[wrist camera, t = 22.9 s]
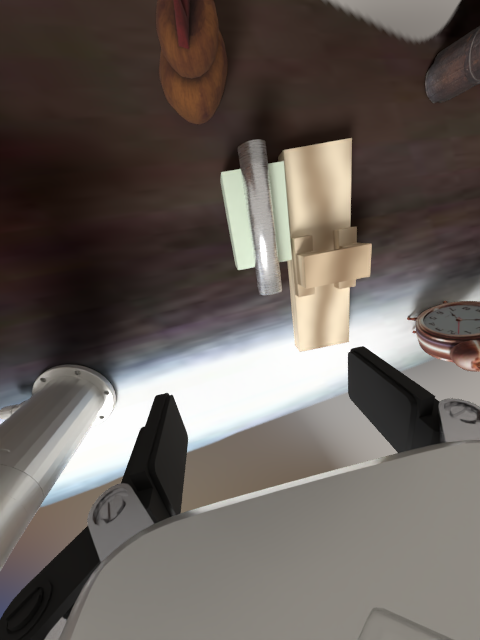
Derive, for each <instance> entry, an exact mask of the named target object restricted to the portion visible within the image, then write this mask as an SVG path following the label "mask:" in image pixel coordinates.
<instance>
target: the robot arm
mask: <svg viewBox="0 0 480 640" xmlns="http://www.w3.org/2000/svg"><path fill="white" fill-rule="evenodd" d="M348 394H349V397H350V399H351V400H352V401H353V402H354V403H355V405H356V406H357V407H358V408H359V409H360V410H361V411H362V412H363V414H364V415H365V416H366V417H367V418H368V419H369V420H370V422H371V423H372V424H373V425H374V426H375V427H376V428H377V430H378V431H379V432H380V433H381V434H382V435H383V436H384V437H385V439H386V440H387V441H388V442H389V443H390V444H391V445H392V446H393V448H394V449H395V450H396V451H397V452H398V453H397V454H393V455H389V456H386V457H382V458H378V459H375V460H371V461H367V462H363V463H360V464H355V465H352V466H348V467H344V468H340V469H337V470H333V471H330V472H326V473H322V474H318V475H314V476H311V477H307V478H303V479H300V480H296V481H292V482H289V483H285V484H281V485H278V486H274V487H270V488H267V489H263V490H260V491H256V492H252V493H249V494H245V495H242V496H238V497H235V498H231V499H228V500H224V501H220V502H217V503H214V504H210V505H207V506H203V507H200V508H197V509H193V510H191V511H187V512H184V513H181V514H180V512H181V503H182V493H183V484H184V473H185V464H186V455H187V445H188V436H187V432H186V429H185V427H184V424H183V421H182V419H181V416H180V413H179V411H178V408H177V405H176V402H175V400H174V397H173V395H169V394H168V393H165V394H161V395H157V396H156V397H155V399H154V402H153V405H152V408H151V411H150V414H149V417H148V420H147V423H146V426H145V427H142V428H141V430H140V432H139V434H138V437H137V440H136V443H135V446H134V448H133V451H132V454H131V457H130V460H129V462H128V465H127V468H126V471H125V473H124V476H123V479H122V482H121V484H117V485H115V486H113V487H111V488H109V489H108V490H106V491H105V492H104V493H103V494H102V495H101V496H100V497H99V498H98V499H97V500H96V502H95V503H94V504H93V506H92V508H91V510H90V512H89V515H88V519H87V520H88V526H87V527H86V528H85V529H84V530H83V531H82V532H81V533H80V534H79V535H78V536H77V537H76V538H75V539H74V540H73V541H72V542H71V543H70V544H69V545H68V546H67V547H65V549H64V550H62V551H61V553H59V554H58V555H57V556H56V557H55V558H54V559H53V560H52V561H51V562H50V563H49V564H48V565H47V566H46V567H45V568H44V569H43V570H42V571H41V572H40V573H39V574H38V575H37V576H36V577H35V578H34V579H33V580H32V581H31V582H30V583H28V584H27V585H26V586H25V588H23V589H22V590H21V592H20V593H19V594H18V595H17V596H16V597H15V598H14V599H13V601H12V602H11V603H10V605H9V606H8V608H7V609H6V611H5V612H4V614H3V616H2V617H1V619H0V640H480V407H479V406H477V405H476V404H473V403H471V402H468V401H464V400H460V399H453V398H452V399H444V400H442V401H440V402H439V401H438V400H436V399H435V396H434V395H433V394H431V393H430V392H428V391H427V390H425V389H424V388H423V387H421V386H420V385H418V384H417V383H415V382H414V381H412V380H411V379H410V378H408V377H407V376H405V375H404V374H402V373H401V372H400V371H398V370H397V369H395V368H394V367H392V366H391V365H390V364H388V363H387V362H385V361H384V360H382V359H381V358H379V357H378V356H377V355H375V354H374V353H372V352H371V351H369V350H368V349H367V348H365V347H363V346H362V347H357V348H353V349H351V351H350V352H349V353H348ZM115 404H116V395H115V391H114V389H113V386H112V385H111V384H110V382H109V381H108V380H107V379H106V378H105V377H104V376H103V375H101V374H100V373H98V372H96V371H94V370H92V369H90V368H87V367H84V366H79V365H69V364H67V365H59V366H56V367H52V368H50V369H49V370H47V371H45V372H44V373H43V374H41V375H40V376H39V377H38V378H37V379H36V381H35V383H34V385H33V389H32V397H31V398H30V399H28V400H27V401H24V402H22V403H21V404H19V405H18V404H17V405H12V406H7V407H3V408H2V409H1V410H0V418H1V419H6V420H5V421H4V422H3V423H2V424H1V425H0V571H1V569H2V567H3V565H4V564H5V562H6V560H7V559H8V557H9V555H10V553H11V552H12V550H13V548H14V547H15V545H16V543H17V542H18V540H19V539H20V537H21V535H22V534H23V532H24V531H25V529H26V527H27V526H28V524H29V522H30V521H31V520H32V518H33V516H34V515H35V513H36V512H37V510H38V509H39V507H40V506H41V504H42V502H43V501H44V499H45V498H46V496H47V495H48V493H49V492H50V490H51V488H52V487H53V485H54V484H55V482H56V481H57V479H58V478H59V476H60V474H61V473H62V471H63V470H64V468H65V467H66V465H67V464H68V462H69V460H70V459H71V457H72V456H73V454H74V453H75V451H76V450H77V448H78V447H79V445H80V443H81V442H82V440H83V439H84V437H85V436H86V434H87V433H88V431H89V429H90V428H91V426H93V425H96V424H98V423H100V422H102V421H104V420H105V419H106V418H107V417H108V416H109V415H110V414H111V412H112V411H113V409H114V406H115Z"/></svg>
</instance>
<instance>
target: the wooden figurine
mask: <svg viewBox="0 0 480 640" xmlns="http://www.w3.org/2000/svg"><path fill="white" fill-rule="evenodd" d="M156 29H157V34H158V38H159V42H160V45H161V55H160V65H159V77H160V81H161V84H162V87H163V90H164V94H165V96H166V99H167V101H168V102H169V103H170V105H171V106H172V107H173V108H174V109H175V110H176V111H177V112H178V114H179V115H181V116H182V117H183V118H184V119H186V120H187V121H188V122H190V123H194V124H202V123H205V122H207V121H208V120H209V119H210V118H211V117H212V116H213V115H214V113H215V111H216V109H217V107H218V105H219V103H220V100H221V98H222V95H223V92H224V87H225V82H226V77H227V69H228V63H227V55H226V50H225V45H224V40H223V37H222V35H221V33H220V31H219V27H218V17H217V12H216V7H215V3H214V0H157V6H156Z"/></svg>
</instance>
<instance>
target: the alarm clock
mask: <svg viewBox="0 0 480 640" xmlns="http://www.w3.org/2000/svg"><path fill="white" fill-rule="evenodd" d="M443 303H444V304H441V305H437V306H434V307H432V308H429V309H427V310H425V311H424V312H422V313H421V314H420V315H419V316H418V317H417V318H410V317H408V318H407V319H408V320H414V321H416V331H413V333H416V334H417V338H418V341H419V344H420V346H421V348H422V349H423V350H424V351H425V352H426V353H428V354H429V355H431V356H433V357H435V358H438V359H441V360H445V361H449V362H454V363H455V364H456V365H457V366H459V367H460V368H462V369H464V370H468V371H480V302H477V301H460V302H451V303H447V301H444V302H443Z"/></svg>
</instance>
